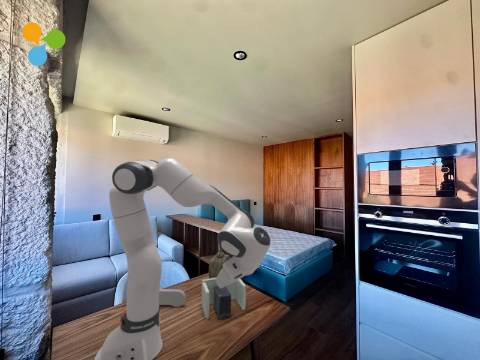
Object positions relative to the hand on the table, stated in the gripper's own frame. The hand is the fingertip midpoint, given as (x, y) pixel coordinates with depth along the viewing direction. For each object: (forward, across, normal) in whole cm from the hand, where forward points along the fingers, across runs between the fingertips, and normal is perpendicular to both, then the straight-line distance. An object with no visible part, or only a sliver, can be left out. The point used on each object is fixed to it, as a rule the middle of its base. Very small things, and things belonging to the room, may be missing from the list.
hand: (233, 280), depth 84 cm
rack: (+30, -6, 0) cm, 31 cm away
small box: (+29, -3, +2) cm, 29 cm away
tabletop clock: (+43, -17, -14) cm, 49 cm away
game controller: (+40, +16, -17) cm, 47 cm away
